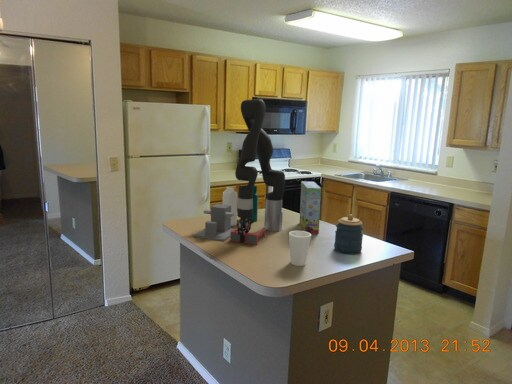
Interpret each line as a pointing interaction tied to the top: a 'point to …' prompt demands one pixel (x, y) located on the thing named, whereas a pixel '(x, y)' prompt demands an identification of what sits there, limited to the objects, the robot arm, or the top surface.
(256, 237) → the red c-shaped frame
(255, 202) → the teal bottle
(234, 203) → the milk
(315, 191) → the snack box
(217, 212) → the stand
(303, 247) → the foam cup
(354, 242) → the lidded canister
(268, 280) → the top surface
